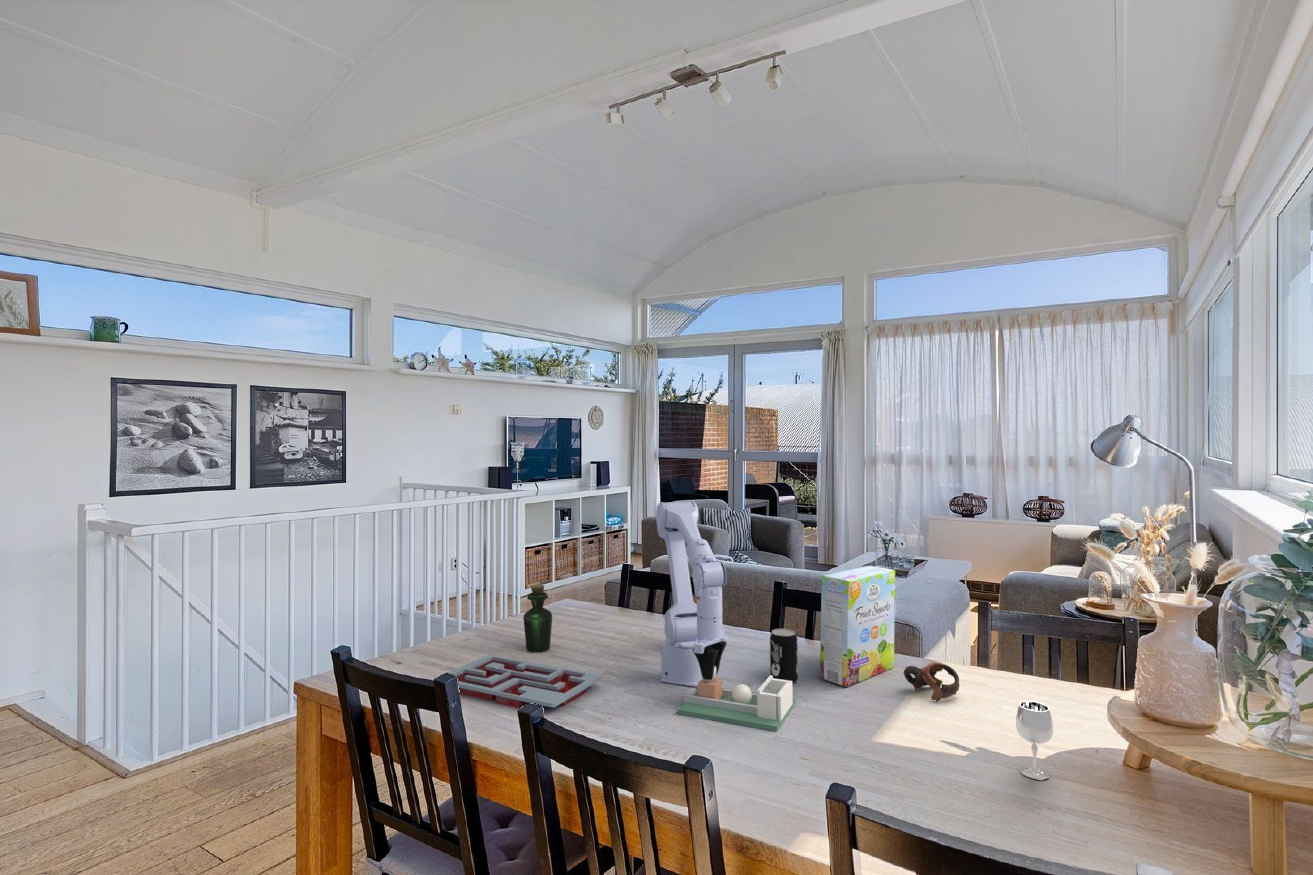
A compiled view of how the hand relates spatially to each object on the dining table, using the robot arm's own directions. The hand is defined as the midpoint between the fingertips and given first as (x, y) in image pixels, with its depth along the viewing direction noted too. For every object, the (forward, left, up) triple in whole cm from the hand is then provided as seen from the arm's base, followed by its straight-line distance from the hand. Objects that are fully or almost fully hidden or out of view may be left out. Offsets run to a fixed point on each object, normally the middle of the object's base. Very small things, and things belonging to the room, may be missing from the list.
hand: (710, 676), depth 154 cm
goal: (+15, 0, -6) cm, 16 cm away
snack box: (+27, +33, -6) cm, 43 cm away
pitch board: (+6, 0, -6) cm, 9 cm away
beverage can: (+11, +21, -6) cm, 25 cm away
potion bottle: (-59, +18, -6) cm, 62 cm away
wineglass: (+63, -7, -6) cm, 64 cm away
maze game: (-46, -9, -7) cm, 47 cm away
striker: (0, 0, -5) cm, 5 cm away
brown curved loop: (+45, +26, -6) cm, 52 cm away
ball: (+7, 0, -3) cm, 8 cm away
